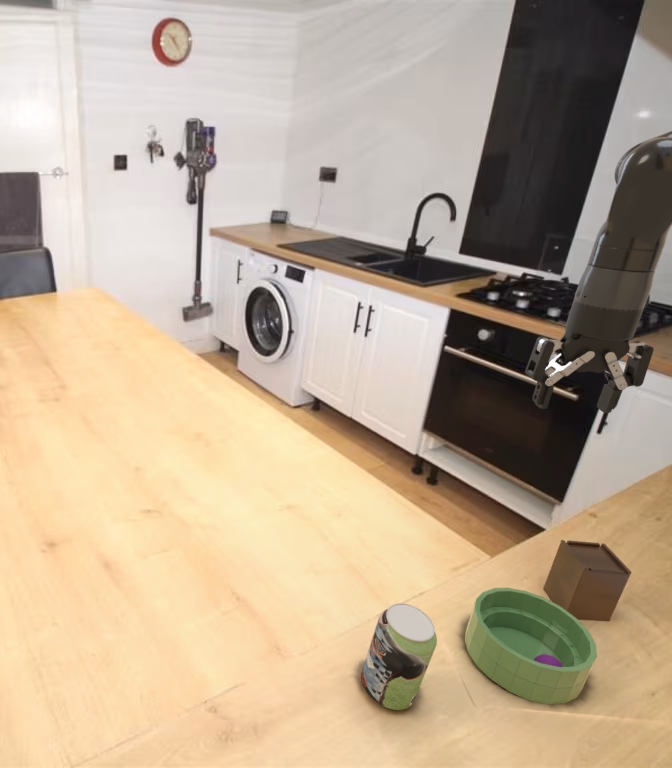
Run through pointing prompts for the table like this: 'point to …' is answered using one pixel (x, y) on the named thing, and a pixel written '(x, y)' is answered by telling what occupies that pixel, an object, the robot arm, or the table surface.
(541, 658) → the ball
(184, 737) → the table surface
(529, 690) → the bowl
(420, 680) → the beverage can
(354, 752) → the table surface
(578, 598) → the ball stand
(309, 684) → the table surface
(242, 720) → the table surface
